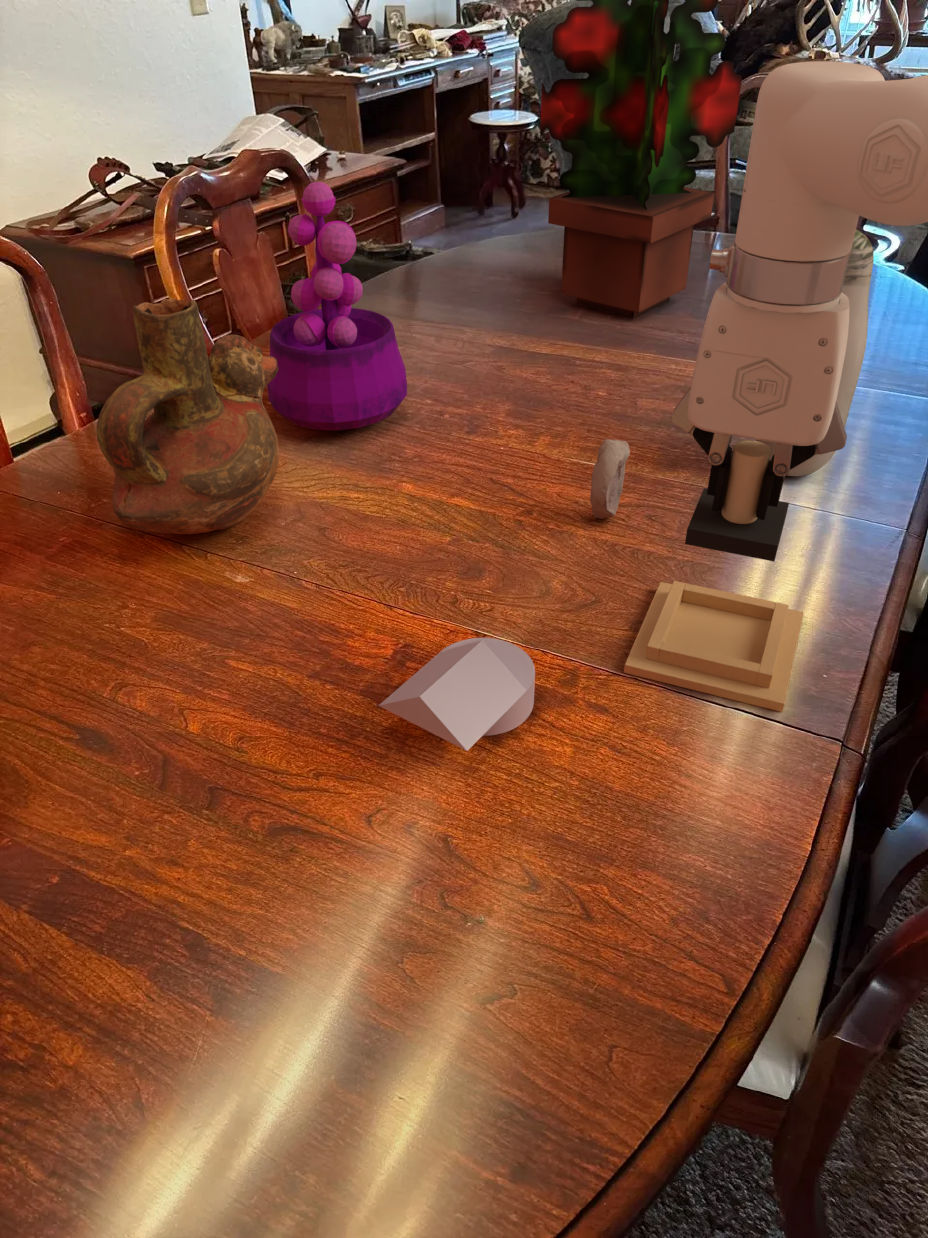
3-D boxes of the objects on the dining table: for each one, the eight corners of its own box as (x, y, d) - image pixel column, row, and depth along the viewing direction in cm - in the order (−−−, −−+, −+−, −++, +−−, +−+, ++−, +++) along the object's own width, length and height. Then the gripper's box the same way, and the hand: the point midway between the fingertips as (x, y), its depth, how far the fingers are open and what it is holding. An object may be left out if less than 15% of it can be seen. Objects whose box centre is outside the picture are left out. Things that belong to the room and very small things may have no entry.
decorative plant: (433, 403, 130) (424, 172, 112) (363, 459, 117) (340, 208, 99) (322, 380, 137) (297, 159, 119) (244, 431, 124) (202, 191, 106)
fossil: (606, 535, 102) (614, 454, 96) (578, 527, 103) (583, 446, 97) (627, 512, 106) (636, 432, 100) (600, 504, 107) (606, 425, 101)
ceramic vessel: (341, 481, 113) (319, 272, 97) (198, 591, 95) (143, 356, 79) (232, 452, 119) (195, 251, 104) (78, 550, 101) (6, 325, 86)
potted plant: (534, 305, 161) (544, -4, 134) (604, 274, 175) (626, -13, 147) (644, 333, 150) (679, 2, 123) (709, 298, 163) (754, -9, 136)
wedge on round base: (467, 780, 73) (553, 691, 82) (466, 719, 69) (556, 631, 78) (381, 734, 78) (470, 654, 86) (375, 674, 74) (469, 595, 82)
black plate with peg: (785, 518, 77) (804, 436, 72) (774, 561, 72) (793, 476, 67) (701, 502, 79) (714, 422, 74) (684, 544, 74) (697, 460, 69)
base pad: (801, 620, 89) (807, 599, 88) (782, 712, 79) (788, 690, 78) (659, 589, 94) (662, 568, 92) (623, 672, 84) (625, 651, 82)
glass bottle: (837, 491, 109) (903, 244, 92) (748, 484, 110) (796, 240, 93) (828, 453, 116) (887, 218, 99) (745, 446, 118) (789, 215, 101)
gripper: (656, 277, 63) (630, 511, 74) (913, 305, 58) (843, 551, 69) (679, 247, 68) (651, 469, 79) (915, 270, 63) (850, 503, 74)
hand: (741, 505), depth 74 cm, fingers closed on black plate with peg, 2 cm apart
